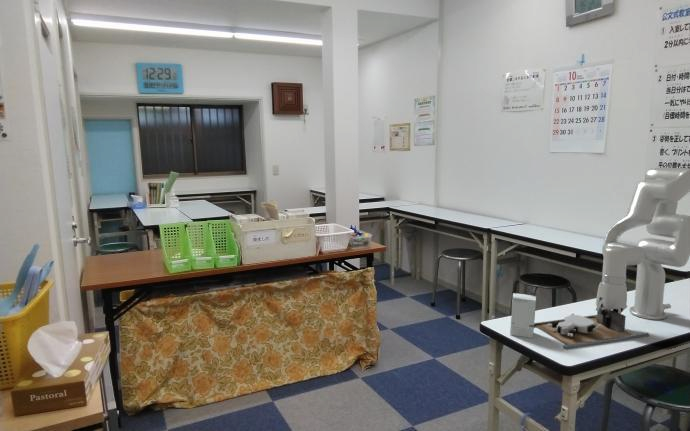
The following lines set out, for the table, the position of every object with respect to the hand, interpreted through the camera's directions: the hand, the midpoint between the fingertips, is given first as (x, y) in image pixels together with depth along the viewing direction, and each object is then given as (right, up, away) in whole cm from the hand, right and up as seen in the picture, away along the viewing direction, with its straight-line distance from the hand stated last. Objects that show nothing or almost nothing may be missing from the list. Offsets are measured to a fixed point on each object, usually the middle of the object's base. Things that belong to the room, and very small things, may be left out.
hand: (610, 325), depth 169 cm
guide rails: (-10, -2, -2) cm, 11 cm away
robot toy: (-16, -2, -4) cm, 17 cm away
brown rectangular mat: (-12, -2, -3) cm, 12 cm away
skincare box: (-35, -3, -3) cm, 35 cm away
